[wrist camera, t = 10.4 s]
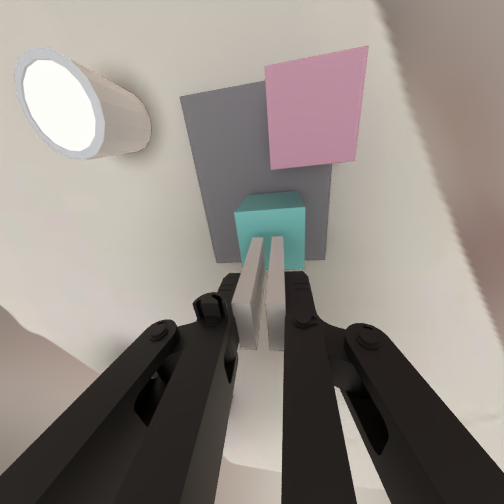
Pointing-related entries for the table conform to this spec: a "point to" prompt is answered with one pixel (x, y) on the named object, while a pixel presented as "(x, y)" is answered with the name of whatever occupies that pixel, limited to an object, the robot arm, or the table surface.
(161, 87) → the table surface
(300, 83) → the stand
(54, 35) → the table surface
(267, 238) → the teal rectangular prism
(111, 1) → the table surface
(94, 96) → the white cup
